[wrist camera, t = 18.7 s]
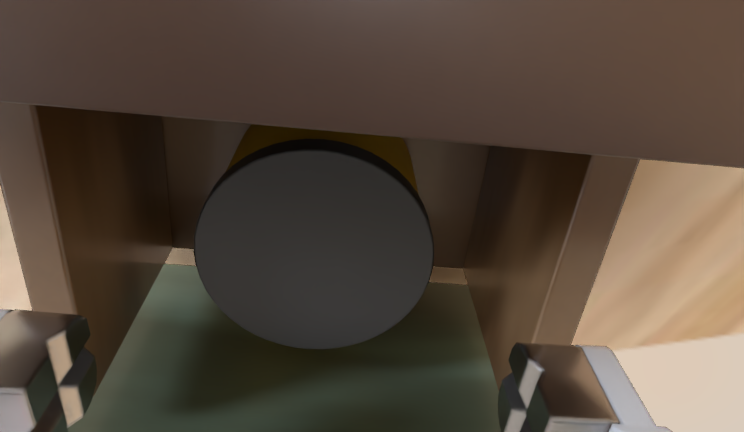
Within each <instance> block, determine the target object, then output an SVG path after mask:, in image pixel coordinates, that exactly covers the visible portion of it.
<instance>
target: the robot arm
mask: <svg viewBox="0 0 744 432" xmlns="http://www.w3.org/2000/svg"><path fill="white" fill-rule="evenodd" d="M90 335H91V334H90V330H89V326H88V322H87V318H85V317H83V316H81V315H74V314H63V313H51V312H39V311H27V310H16V309H15V310H7V309H0V432H68V427H70V426H71V425H73V424H74V423H75V422H77V421H78V420H80V419H81V418H83V417H84V415H85V413H86V411H87V409H88V407H89V405H90V403H91V401H92V398H93V394H94V390H95V386H96V383H97V366H96V360H95V356H94V355H93V354H92V353H91V352H90V351H89V350H87V349H86V348H85V347H84V345H85V344H86V342H87V340H88V339H89V337H90ZM508 361H509V364H510V367H511V370H512V372H511V373H510V374H509V375H508V376H506V377H505V378H504V379H502V383H501V386H500V390H499V394H498V418H499V425H500V429H501V432H672V431H671V430H670V429H668V428H667V427H661V426H656V424H655V423H654V421H653V419H652V418H651V416H650V414H649V413H648V411H647V409H646V407H645V406H644V404H643V402H642V401H641V399H640V397H639V395H638V394H637V392H636V390H635V389H634V387H633V385H632V383H631V382H630V380H629V378H628V377H627V375H626V373H625V371H624V370H623V368H622V366H621V365H620V363H619V361H618V359H617V358H616V356H615V354H614V353H613V351H612V350H611V349H609V348H608V347H607V346H590V345H576V346H574V345H559V344H541V343H523V342H516V344H515V345H514V346H513V348H512V350H511V353H510V356H509V359H508Z"/></svg>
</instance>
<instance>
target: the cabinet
mask: <svg viewBox="0 0 744 432" xmlns="http://www.w3.org/2000/svg"><path fill="white" fill-rule="evenodd" d="M0 102H8V103H19V104H30V105H42V106H53V107H64V108H75V109H86V110H98V111H109V112H120V113H131V114H142V115H153V116H165V117H176V118H187V119H198V120H209V121H221V122H232V123H243V124H254V125H265V126H277V127H288V128H299V129H310V130H321V131H333V132H344V133H355V134H366V135H377V136H389V137H400V138H411V139H422V140H433V141H445V142H456V143H467V144H478V145H489V146H501V147H512V148H523V149H534V150H545V151H557V152H568V153H579V154H590V155H601V156H613V157H624V158H635V159H646V160H657V161H668V162H680V163H691V164H702V165H713V166H724V167H736V168H744V0H0Z"/></svg>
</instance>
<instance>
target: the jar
mask: <svg viewBox="0 0 744 432" xmlns="http://www.w3.org/2000/svg"><path fill="white" fill-rule="evenodd" d="M194 256H195V263H196V266H197V270H198V273H199V276H200V279H201V281H202V283H203V285H204V287H205V289H206V291H207V292H208V294H209V295H210V297H211V298H212V300H213V301H214V302H215V304H216V305H217V306H218V307H219V308H220V309H221V311H222V312H224V313H225V314H226V315H227V316H228V317H229V318H230V319H231V320H233V321H234V322H235V323H237V324H238V325H239V326H241V327H242V328H244V329H246V330H247V331H249V332H251V333H253V334H254V335H257V336H259V337H261V338H263V339H266V340H268V341H271V342H274V343H278V344H281V345H285V346H290V347H295V348H303V349H333V348H340V347H346V346H351V345H354V344H358V343H361V342H364V341H367V340H369V339H372V338H374V337H376V336H378V335H380V334H382V333H384V332H385V331H387V330H389V329H390V328H392V327H393V326H395V325H396V324H397V323H399V322H400V321H401V320H402V319H403V318H404V317H405V316H406V315H407V314H409V312H410V311H411V310H412V309H413V308H414V306H415V305H416V304H417V303H418V301H419V299H420V298H421V296H422V295H423V293H424V291H425V289H426V287H427V284H428V282H429V280H430V276H431V272H432V269H433V261H434V241H433V236H432V231H431V227H430V222H429V218H428V215H427V212H426V209H425V207H424V204H423V202H422V200H421V198H420V197H419V194H418V189H417V184H416V180H415V175H414V170H413V166H412V161H411V157H410V154H409V151H408V149H407V146H406V144H405V143H404V141H403V139H402V138H400V137H389V136H377V135H366V134H355V133H344V132H333V131H321V130H310V129H299V128H288V127H277V126H265V125H254V124H252V125H251V126H250V127H249V129H248V130H247V131H246V133H245V134H244V136H243V138H242V140H241V142H240V143H239V145H238V148H237V150H236V152H235V154H234V156H233V158H232V160H231V162H230V164H229V166H228V168H227V170H226V172H225V173H224V174H223V175H222V176H221V178H220V179H219V180H218V182H217V183H216V184H215V186H214V187H213V189H212V190H211V192H210V194H209V196H208V198H207V200H206V202H205V204H204V206H203V208H202V210H201V212H200V215H199V218H198V220H197V223H196V228H195V234H194Z"/></svg>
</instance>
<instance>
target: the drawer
mask: <svg viewBox="0 0 744 432" xmlns="http://www.w3.org/2000/svg"><path fill="white" fill-rule="evenodd" d="M251 125H252V124H243V123H232V122H221V121H209V120H198V119H187V118H176V117H165V116H153V115H142V114H131V113H120V112H109V111H98V110H86V109H75V108H64V107H53V106H42V105H30V104H19V103H8V102H0V185H1V189H2V193H3V197H4V201H5V204H6V208H7V212H8V216H9V220H10V224H11V228H12V232H13V236H14V240H15V244H16V248H17V252H18V256H19V260H20V264H21V268H22V271H23V275H24V279H25V283H26V287H27V291H28V295H29V299H30V303H31V307H32V311H39V312H51V313H63V314H74V315H81V316H83V317H85V318H87V322H88V326H89V330H90V334H91V335H90V337H89V339H88V340H87V342H86V344H85V345H84V347H85V348H86V349H87V350H89V351H90V352H91V353H92V354H93V355H94V356H95V360H96V366H97V383H96V386H95V390H94V394H93V398H92V401H91V403H90V405H89V407H88V409H87V411H86V413H85V415H84V417H83V418H81V419H80V420H78V421H77V422H75V423H74V424H73V425H71V426H70V427H68V432H501V429H500V425H499V418H498V394H499V390H500V386H501V383H502V379H504V378H505V377H506V376H508V375H509V374H510V373H511V372H512V370H511V367H510V364H509V361H508V359H509V356H510V353H511V350H512V348H513V346H514V345H515V344H516V342H523V343H541V344H559V345H571V343H572V340H573V337H574V335H575V332H576V329H577V327H578V324H579V321H580V319H581V316H582V313H583V311H584V308H585V305H586V303H587V300H588V297H589V295H590V292H591V289H592V287H593V284H594V281H595V278H596V276H597V273H598V270H599V268H600V265H601V262H602V260H603V257H604V254H605V252H606V249H607V246H608V244H609V241H610V238H611V236H612V233H613V230H614V228H615V225H616V222H617V220H618V217H619V214H620V212H621V209H622V206H623V204H624V201H625V198H626V195H627V193H628V190H629V187H630V185H631V182H632V179H633V177H634V174H635V171H636V169H637V166H638V163H639V161H640V159H635V158H624V157H613V156H601V155H590V154H579V153H568V152H557V151H545V150H534V149H523V148H512V147H501V146H489V145H478V144H467V143H456V142H445V141H433V140H422V139H411V138H402V139H403V141H404V143H405V144H406V146H407V149H408V151H409V154H410V157H411V161H412V166H413V170H414V175H415V180H416V184H417V189H418V194H419V197H420V198H421V200H422V202H423V204H424V207H425V209H426V212H427V215H428V218H429V222H430V227H431V231H432V236H433V241H434V261H433V266H436V267H450V268H463V270H464V273H465V277H466V280H467V284H468V285H461V284H446V283H432V282H428V284H427V287H426V289H425V291H424V293H423V295H422V296H421V298H420V299H419V301H418V303H417V304H416V305H415V306H414V308H413V309H412V310H411V311H410V312H409V314H407V315H406V316H405V317H404V318H403V319H402V320H401V321H400V322H399V323H397V324H396V325H395V326H393V327H392V328H390V329H389V330H387V331H385V332H384V333H382V334H380V335H378V336H376V337H374V338H372V339H369V340H367V341H364V342H361V343H358V344H354V345H351V346H346V347H340V348H333V349H303V348H295V347H290V346H285V345H281V344H278V343H274V342H271V341H268V340H266V339H263V338H261V337H259V336H257V335H254V334H253V333H251V332H249V331H247V330H246V329H244V328H242V327H241V326H239V325H238V324H237V323H235V322H234V321H233V320H231V319H230V318H229V317H228V316H227V315H226V314H225V313H224V312H222V311H221V309H220V308H219V307H218V306H217V305H216V304H215V302H214V301H213V300H212V298H211V297H210V295H209V294H208V292H207V291H206V289H205V287H204V285H203V283H202V281H201V279H200V276H199V273H198V270H197V266H191V265H176V264H164V263H165V261H166V259H167V258H168V256H169V254H170V252H171V250H172V248H173V247H174V248H188V249H194V234H195V228H196V223H197V220H198V218H199V215H200V212H201V210H202V208H203V206H204V204H205V202H206V200H207V198H208V196H209V194H210V192H211V190H212V189H213V187H214V186H215V184H216V183H217V182H218V180H219V179H220V178H221V176H222V175H223V174H224V173H225V172H226V170H227V168H228V166H229V164H230V162H231V160H232V158H233V156H234V154H235V152H236V150H237V148H238V145H239V143H240V142H241V140H242V138H243V136H244V134H245V133H246V131H247V130H248V129H249V127H250V126H251Z"/></svg>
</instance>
